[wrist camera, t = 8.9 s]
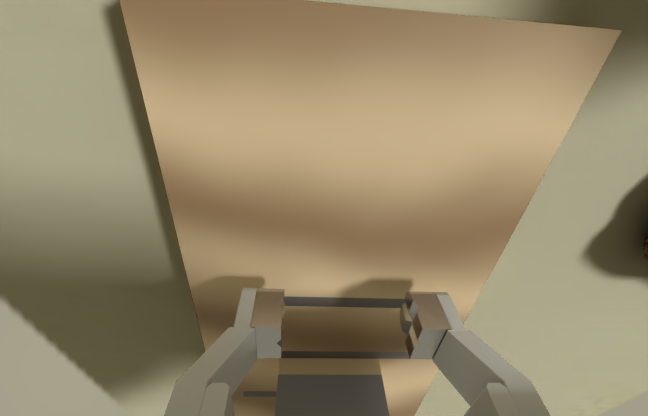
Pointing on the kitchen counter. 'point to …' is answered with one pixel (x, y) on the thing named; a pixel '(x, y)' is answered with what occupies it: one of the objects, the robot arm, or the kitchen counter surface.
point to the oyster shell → (646, 248)
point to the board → (349, 161)
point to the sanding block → (330, 387)
